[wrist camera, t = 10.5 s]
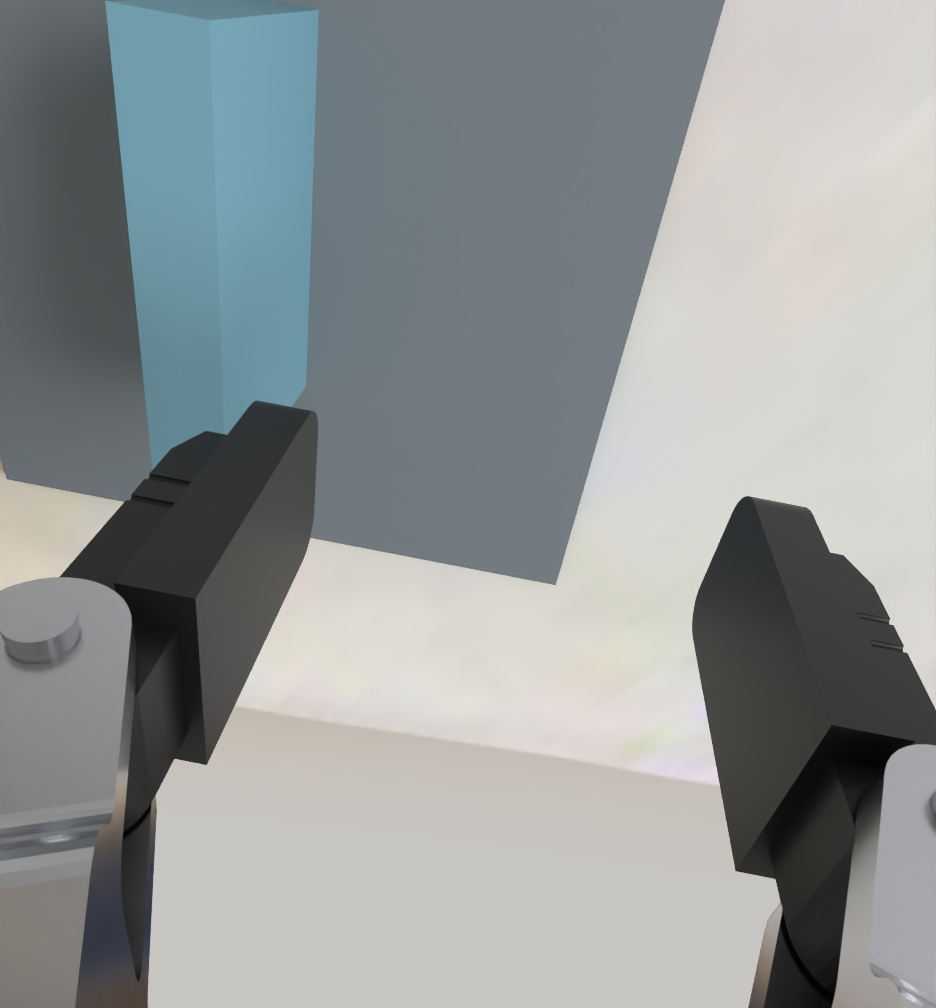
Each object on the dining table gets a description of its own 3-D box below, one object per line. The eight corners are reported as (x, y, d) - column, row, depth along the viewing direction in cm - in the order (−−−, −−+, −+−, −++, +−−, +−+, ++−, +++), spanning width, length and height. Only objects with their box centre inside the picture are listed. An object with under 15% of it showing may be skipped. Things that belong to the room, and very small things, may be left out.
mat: (-195, -463, 14) (-214, -474, 13) (801, -278, 14) (807, -285, 13) (14, 472, 25) (6, 479, 25) (555, 576, 25) (555, 584, 25)
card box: (242, -5, 16) (100, 0, 12) (318, 9, 16) (209, 20, 12) (248, 374, 22) (151, 490, 17) (306, 385, 22) (227, 504, 17)
